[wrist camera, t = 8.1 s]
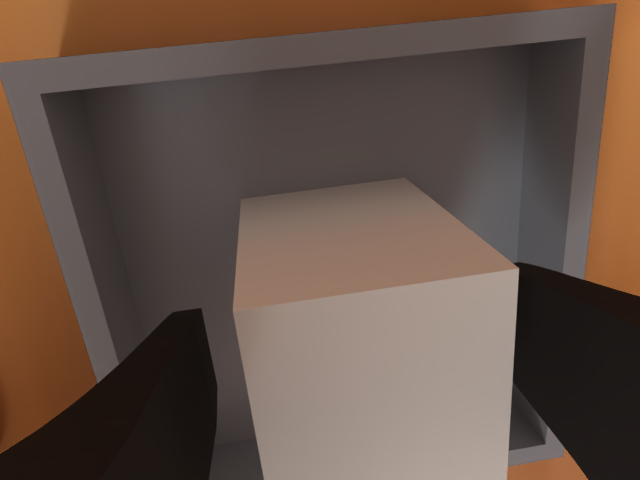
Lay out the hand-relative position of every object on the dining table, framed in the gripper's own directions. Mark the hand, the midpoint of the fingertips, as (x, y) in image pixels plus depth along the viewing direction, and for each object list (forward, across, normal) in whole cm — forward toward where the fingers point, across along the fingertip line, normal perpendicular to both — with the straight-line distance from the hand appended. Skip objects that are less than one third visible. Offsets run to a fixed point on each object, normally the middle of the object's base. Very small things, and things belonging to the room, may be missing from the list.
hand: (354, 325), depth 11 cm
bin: (+4, 0, 0) cm, 4 cm away
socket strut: (+3, 0, 0) cm, 3 cm away
